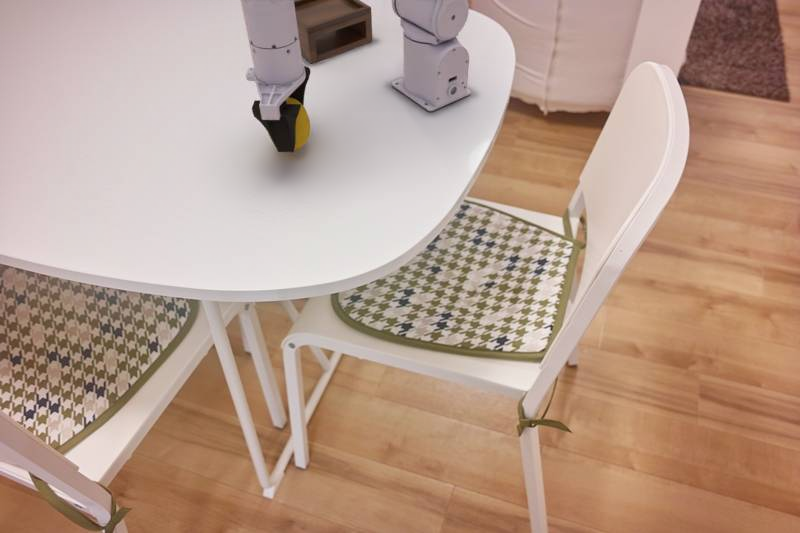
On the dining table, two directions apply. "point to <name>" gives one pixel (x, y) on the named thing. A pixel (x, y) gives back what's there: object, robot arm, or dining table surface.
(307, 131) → the lemon
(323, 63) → the dining table surface
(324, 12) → the walnut box
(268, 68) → the robot arm
